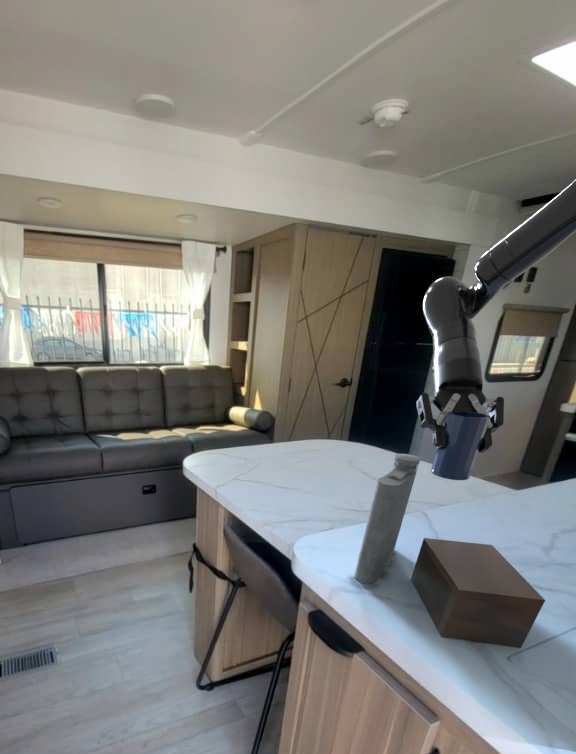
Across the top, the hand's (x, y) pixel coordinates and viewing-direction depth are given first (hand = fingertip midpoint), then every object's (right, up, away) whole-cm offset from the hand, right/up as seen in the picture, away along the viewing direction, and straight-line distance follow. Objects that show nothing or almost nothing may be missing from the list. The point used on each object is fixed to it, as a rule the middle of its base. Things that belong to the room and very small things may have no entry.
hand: (462, 448), depth 71 cm
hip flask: (-14, -20, +2) cm, 25 cm away
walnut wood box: (-7, -26, -9) cm, 28 cm away
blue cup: (0, -4, +4) cm, 6 cm away
